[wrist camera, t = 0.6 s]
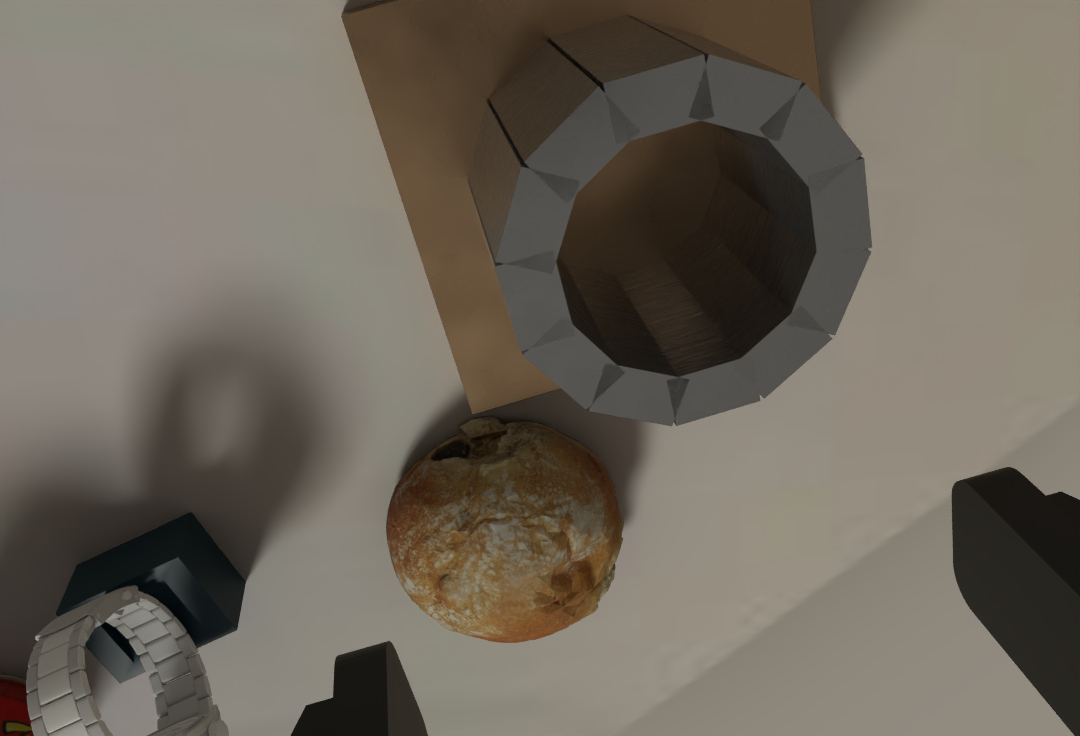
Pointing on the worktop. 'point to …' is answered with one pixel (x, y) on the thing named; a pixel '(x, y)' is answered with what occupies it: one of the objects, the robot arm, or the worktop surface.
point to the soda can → (14, 707)
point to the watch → (138, 632)
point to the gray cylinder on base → (619, 193)
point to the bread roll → (505, 531)
